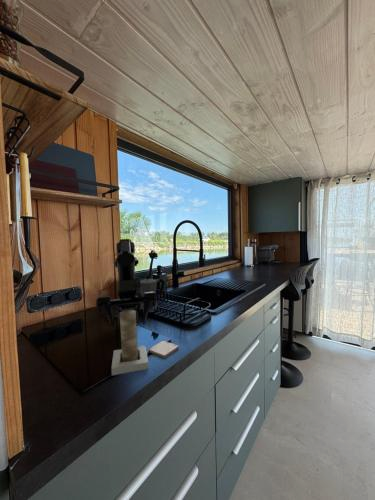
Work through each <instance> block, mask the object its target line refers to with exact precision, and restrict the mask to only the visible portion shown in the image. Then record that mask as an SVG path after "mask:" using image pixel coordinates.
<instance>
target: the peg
mask: <svg viewBox="0 0 375 500" xmlns="http://www.w3.org/2000/svg"><path fill="white" fill-rule="evenodd" d="M119 322H120V323H119V324H120V325H119V326H120V343H121V349H122V359H121V363H123V362H129V361H134V360H139V356H138V347H139V346H138V332H137V331H138V330H137V324H136V311H135V310H125V311H122V312H120V313H119Z"/></svg>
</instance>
